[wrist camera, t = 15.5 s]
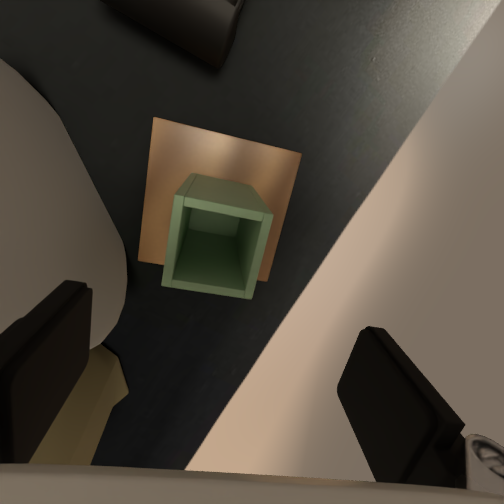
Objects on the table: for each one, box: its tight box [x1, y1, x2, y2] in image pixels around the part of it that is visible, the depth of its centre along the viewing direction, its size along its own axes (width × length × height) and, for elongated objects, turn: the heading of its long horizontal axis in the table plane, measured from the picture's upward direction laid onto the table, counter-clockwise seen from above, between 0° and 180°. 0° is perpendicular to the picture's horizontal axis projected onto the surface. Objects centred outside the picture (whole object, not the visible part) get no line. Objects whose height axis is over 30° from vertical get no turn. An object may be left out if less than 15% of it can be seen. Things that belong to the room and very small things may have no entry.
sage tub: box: [161, 173, 273, 299], centre depth 24 cm, size 6×6×12 cm
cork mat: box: [138, 117, 302, 282], centre depth 30 cm, size 14×14×1 cm
